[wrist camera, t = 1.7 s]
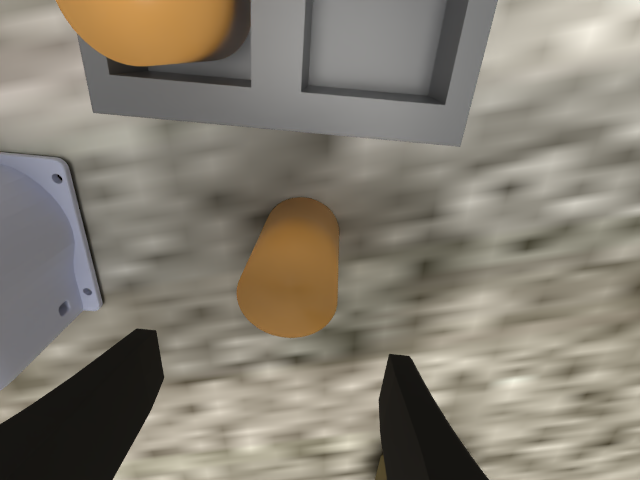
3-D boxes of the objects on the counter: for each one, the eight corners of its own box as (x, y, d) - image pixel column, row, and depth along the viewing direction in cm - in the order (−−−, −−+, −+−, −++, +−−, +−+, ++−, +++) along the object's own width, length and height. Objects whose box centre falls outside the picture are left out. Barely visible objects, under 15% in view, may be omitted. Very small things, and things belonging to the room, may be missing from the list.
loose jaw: (335, 267, 21) (332, 342, 15) (265, 260, 21) (237, 332, 15) (342, 201, 19) (342, 260, 13) (266, 193, 19) (234, 250, 13)
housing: (438, 128, 17) (488, 169, 11) (138, 101, 17) (34, 127, 11) (489, -100, 13) (604, -218, 7) (105, -131, 13) (-78, -270, 8)
